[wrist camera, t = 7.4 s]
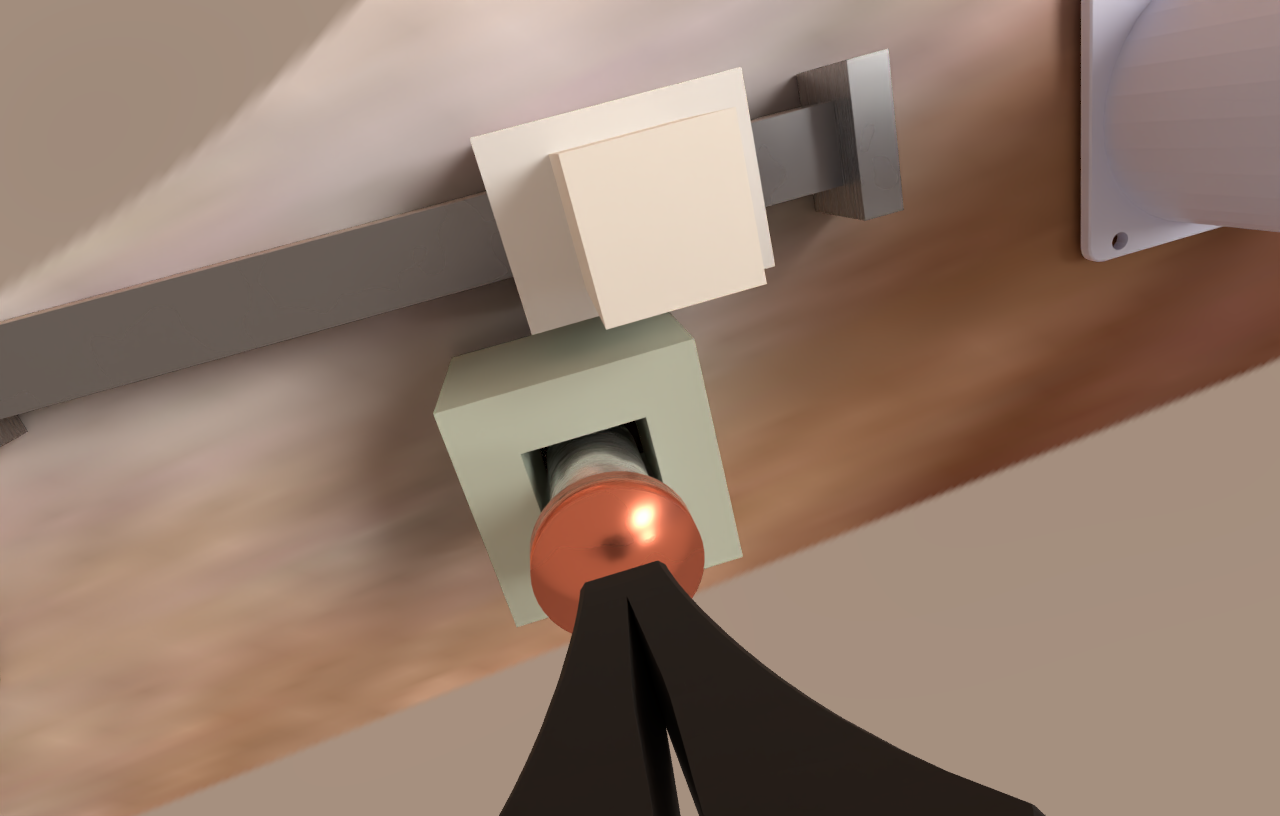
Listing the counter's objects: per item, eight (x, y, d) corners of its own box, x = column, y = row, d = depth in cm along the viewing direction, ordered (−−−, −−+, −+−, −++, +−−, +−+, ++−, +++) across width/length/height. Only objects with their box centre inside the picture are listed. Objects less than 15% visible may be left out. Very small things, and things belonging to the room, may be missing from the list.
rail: (832, 65, 18) (888, 48, 15) (848, 201, 20) (903, 209, 17) (-100, 311, 17) (-224, 343, 14) (-11, 442, 18) (-108, 494, 15)
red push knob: (638, 380, 18) (684, 467, 13) (667, 492, 19) (719, 611, 14) (510, 417, 17) (506, 520, 13) (548, 529, 19) (559, 662, 14)
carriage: (705, 81, 18) (815, 37, 11) (736, 249, 19) (849, 298, 13) (477, 141, 17) (452, 132, 11) (530, 307, 19) (536, 389, 12)
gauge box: (656, 299, 20) (694, 338, 15) (700, 480, 22) (743, 557, 18) (451, 357, 19) (433, 413, 15) (517, 535, 21) (516, 627, 17)
